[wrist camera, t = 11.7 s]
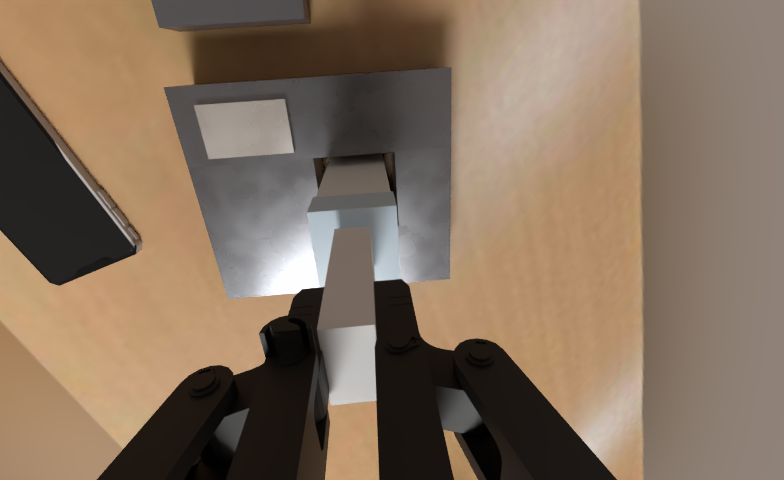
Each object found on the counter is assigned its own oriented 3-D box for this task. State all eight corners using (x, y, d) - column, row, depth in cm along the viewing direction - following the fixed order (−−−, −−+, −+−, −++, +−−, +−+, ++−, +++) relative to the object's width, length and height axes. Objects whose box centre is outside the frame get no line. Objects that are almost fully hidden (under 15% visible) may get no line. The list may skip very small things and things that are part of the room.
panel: (193, 84, 24) (160, 87, 20) (438, 67, 24) (452, 67, 20) (244, 271, 30) (226, 302, 26) (439, 253, 30) (450, 281, 26)
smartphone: (-22, 40, 22) (142, 251, 28) (-3, 42, 23) (150, 244, 29) (-131, 95, 22) (52, 288, 28) (-108, 94, 23) (64, 280, 29)
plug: (329, 152, 26) (307, 212, 15) (382, 149, 26) (396, 205, 16) (336, 202, 28) (319, 288, 17) (385, 199, 28) (400, 281, 17)
